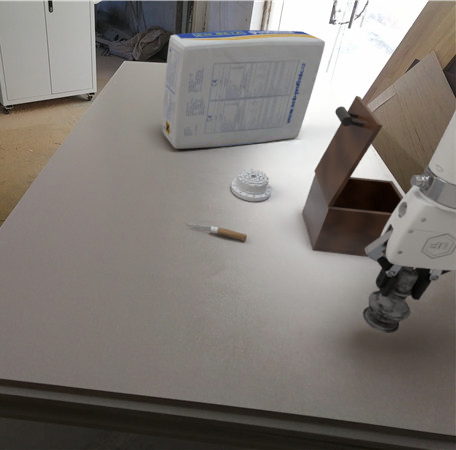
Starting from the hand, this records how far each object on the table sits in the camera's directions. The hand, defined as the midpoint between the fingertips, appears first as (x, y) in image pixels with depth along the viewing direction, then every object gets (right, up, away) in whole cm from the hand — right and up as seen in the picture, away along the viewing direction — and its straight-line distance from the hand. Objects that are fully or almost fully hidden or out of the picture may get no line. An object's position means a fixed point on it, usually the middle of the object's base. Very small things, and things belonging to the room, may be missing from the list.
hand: (397, 290), depth 60 cm
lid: (+1, +24, +18) cm, 30 cm away
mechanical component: (-12, +18, +42) cm, 47 cm away
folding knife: (-23, +7, +28) cm, 37 cm away
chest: (+6, +8, +30) cm, 31 cm away
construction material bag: (-12, +37, +66) cm, 77 cm away
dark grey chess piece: (0, -5, +4) cm, 7 cm away
